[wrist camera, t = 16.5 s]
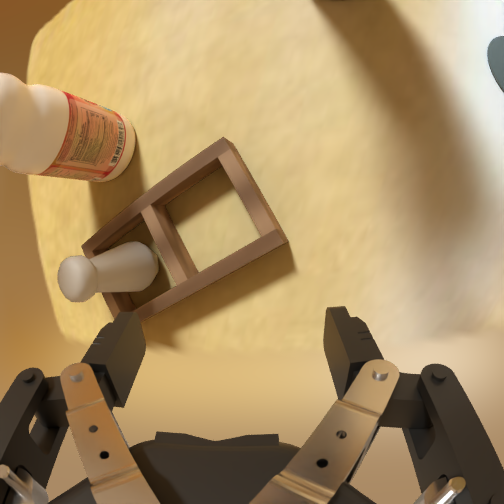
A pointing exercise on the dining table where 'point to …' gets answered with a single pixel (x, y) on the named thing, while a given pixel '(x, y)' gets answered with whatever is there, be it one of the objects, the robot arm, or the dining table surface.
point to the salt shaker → (108, 272)
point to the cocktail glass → (497, 59)
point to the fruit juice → (61, 134)
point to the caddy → (169, 239)
